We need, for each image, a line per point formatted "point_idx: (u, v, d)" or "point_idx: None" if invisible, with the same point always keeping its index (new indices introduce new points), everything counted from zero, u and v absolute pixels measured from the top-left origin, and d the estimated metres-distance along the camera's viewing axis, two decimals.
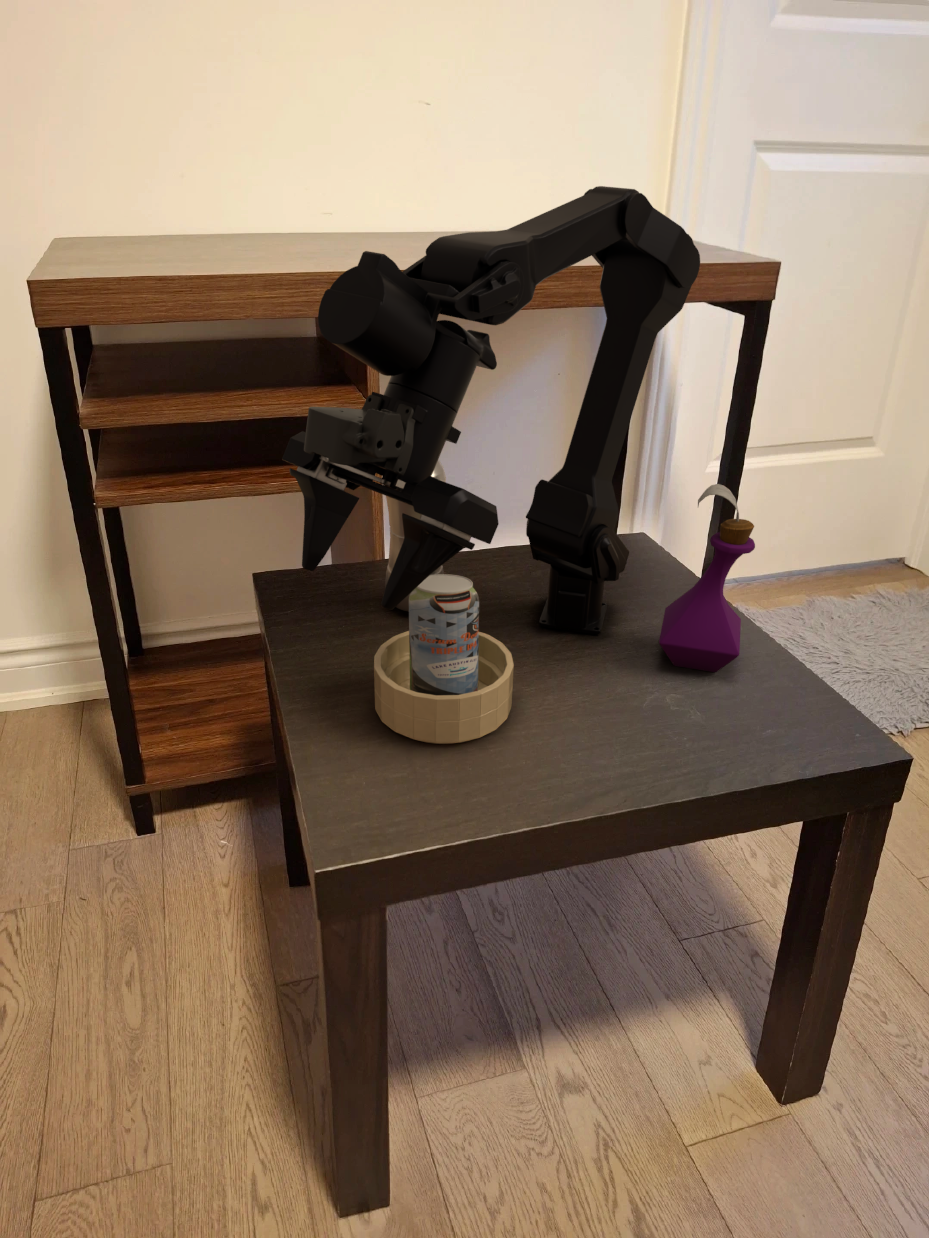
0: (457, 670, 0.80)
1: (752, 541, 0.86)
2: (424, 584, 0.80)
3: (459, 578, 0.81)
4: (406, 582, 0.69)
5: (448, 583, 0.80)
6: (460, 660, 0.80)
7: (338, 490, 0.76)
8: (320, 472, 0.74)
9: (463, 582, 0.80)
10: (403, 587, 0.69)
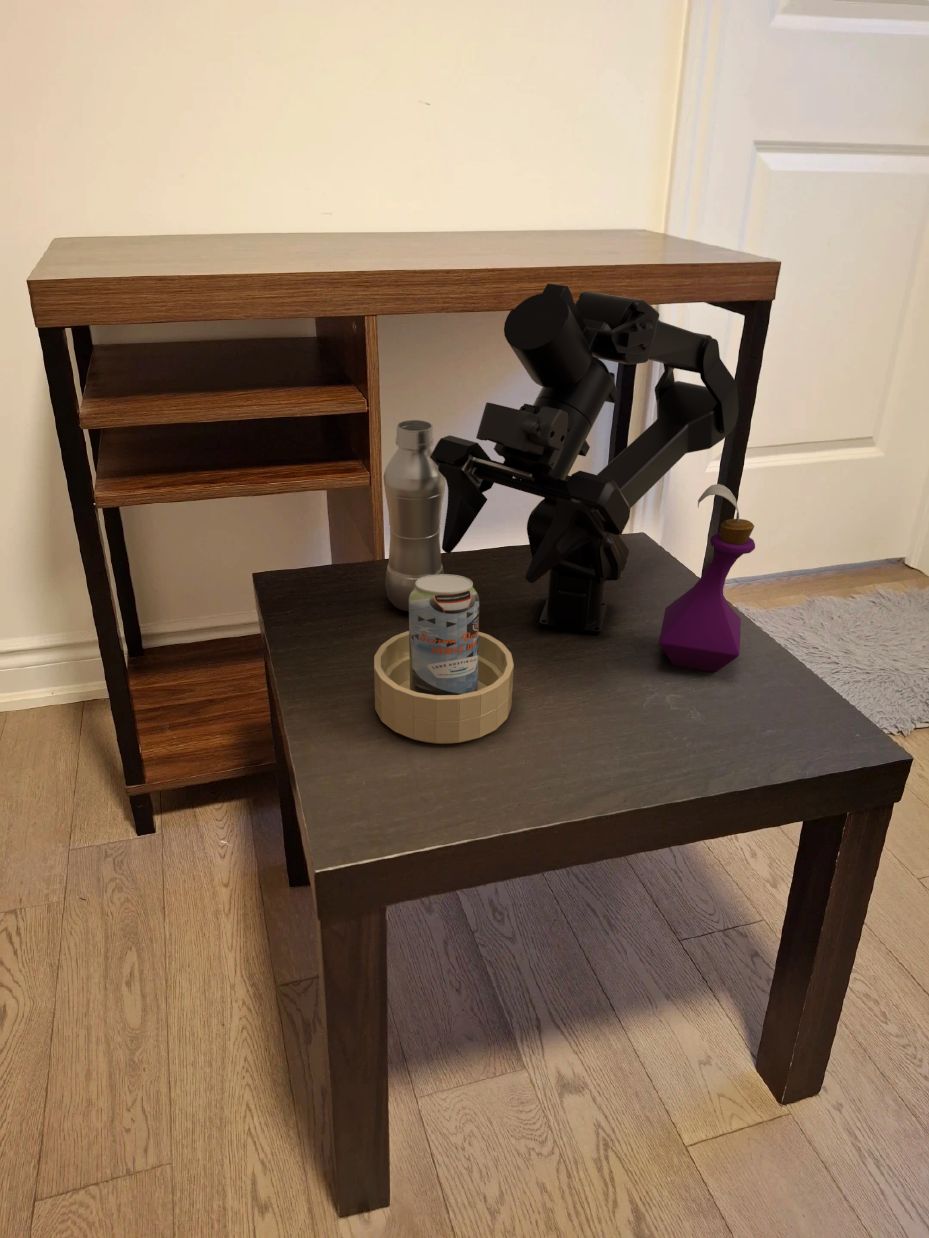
0: (457, 670, 0.80)
1: (752, 541, 0.86)
2: (424, 584, 0.80)
3: (459, 578, 0.81)
4: (549, 559, 0.81)
5: (448, 583, 0.80)
6: (460, 660, 0.80)
7: (476, 487, 0.87)
8: (466, 468, 0.86)
9: (463, 582, 0.80)
10: (546, 563, 0.81)
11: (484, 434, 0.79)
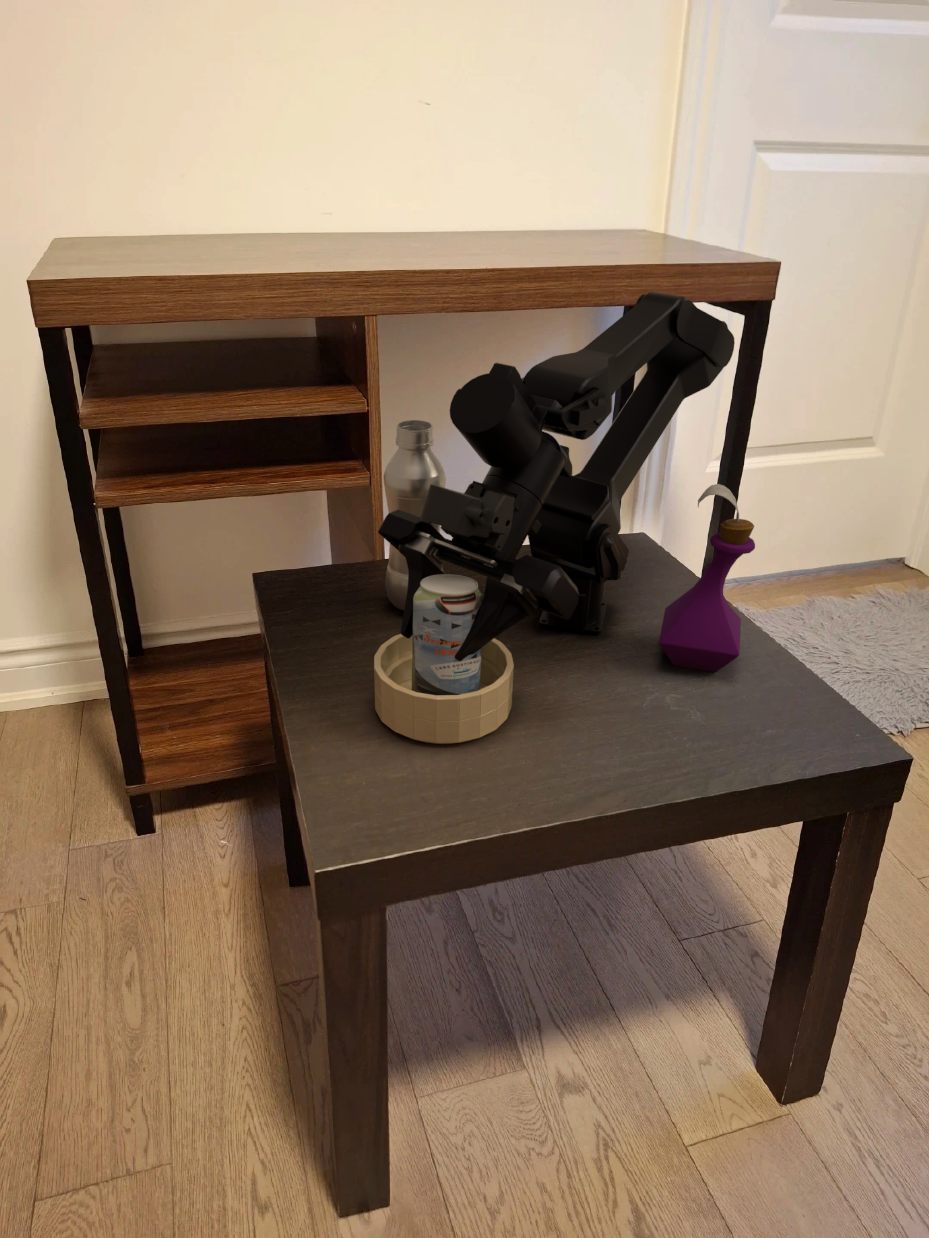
0: (460, 671, 0.80)
1: (752, 541, 0.86)
2: (429, 584, 0.79)
3: (464, 579, 0.81)
4: (479, 639, 0.79)
5: (453, 584, 0.80)
6: (464, 662, 0.79)
7: (438, 569, 0.84)
8: (428, 550, 0.83)
9: (468, 583, 0.80)
10: (476, 643, 0.79)
11: (427, 517, 0.76)
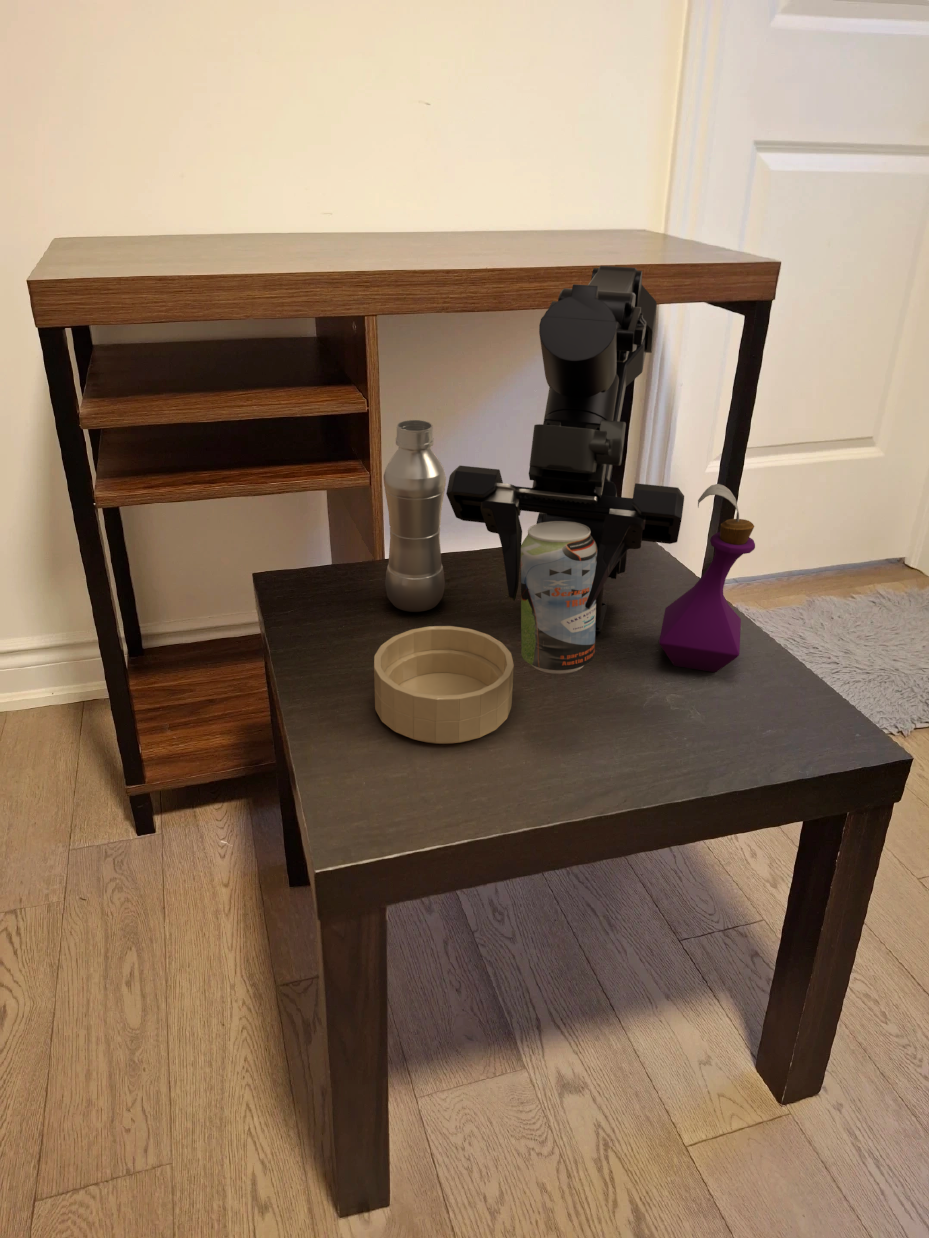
0: (589, 620, 0.74)
1: (752, 541, 0.86)
2: (541, 535, 0.73)
3: (564, 524, 0.75)
4: (602, 581, 0.74)
5: (563, 530, 0.74)
6: (591, 609, 0.74)
7: (519, 521, 0.77)
8: (513, 502, 0.75)
9: (575, 526, 0.74)
10: (600, 586, 0.74)
11: (544, 460, 0.70)
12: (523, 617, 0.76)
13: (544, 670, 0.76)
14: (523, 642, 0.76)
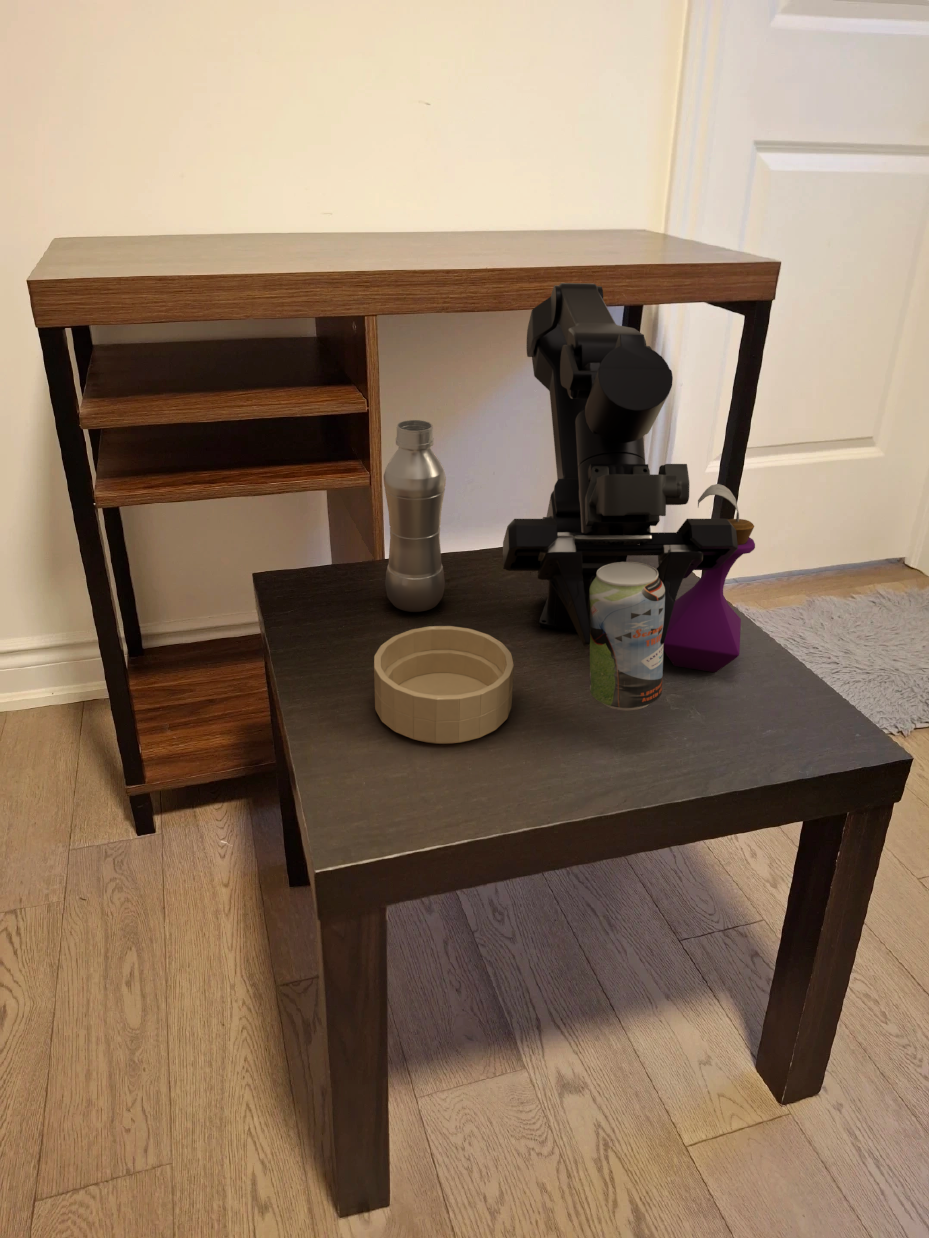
0: (662, 655, 0.77)
1: (752, 541, 0.86)
2: (615, 580, 0.74)
3: (624, 564, 0.77)
4: None
5: (630, 572, 0.76)
6: None
7: None
8: (574, 549, 0.76)
9: (637, 566, 0.77)
10: None
11: (622, 509, 0.71)
12: (598, 661, 0.77)
13: (621, 708, 0.78)
14: (598, 684, 0.78)
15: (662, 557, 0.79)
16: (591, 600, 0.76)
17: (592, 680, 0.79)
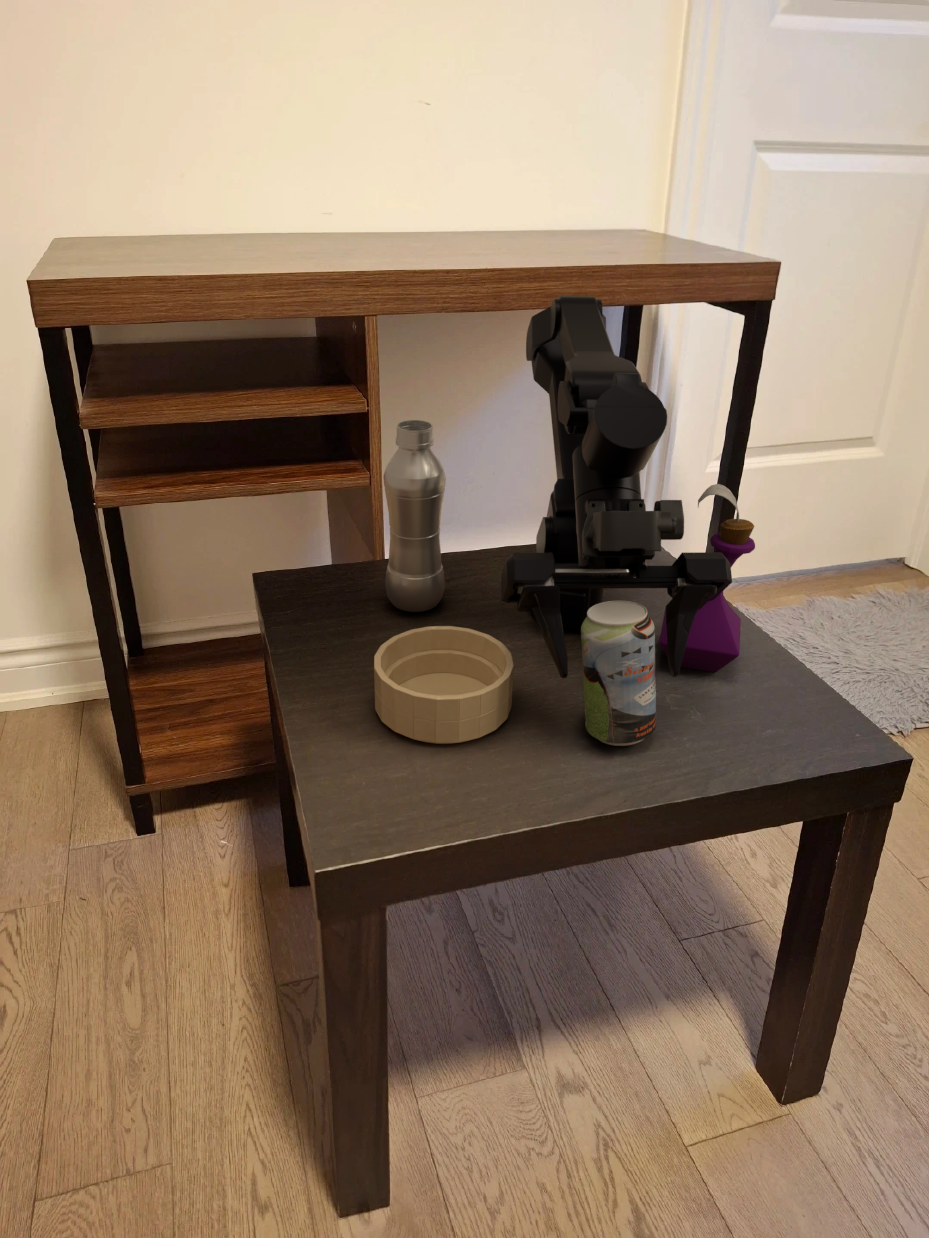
0: (654, 690, 0.79)
1: (752, 541, 0.86)
2: (605, 620, 0.76)
3: (614, 603, 0.79)
4: None
5: (620, 611, 0.77)
6: (654, 680, 0.79)
7: None
8: (552, 583, 0.78)
9: (627, 605, 0.78)
10: None
11: (618, 545, 0.72)
12: (592, 698, 0.79)
13: (616, 744, 0.80)
14: (592, 721, 0.79)
15: (676, 590, 0.80)
16: (583, 639, 0.78)
17: (587, 717, 0.80)
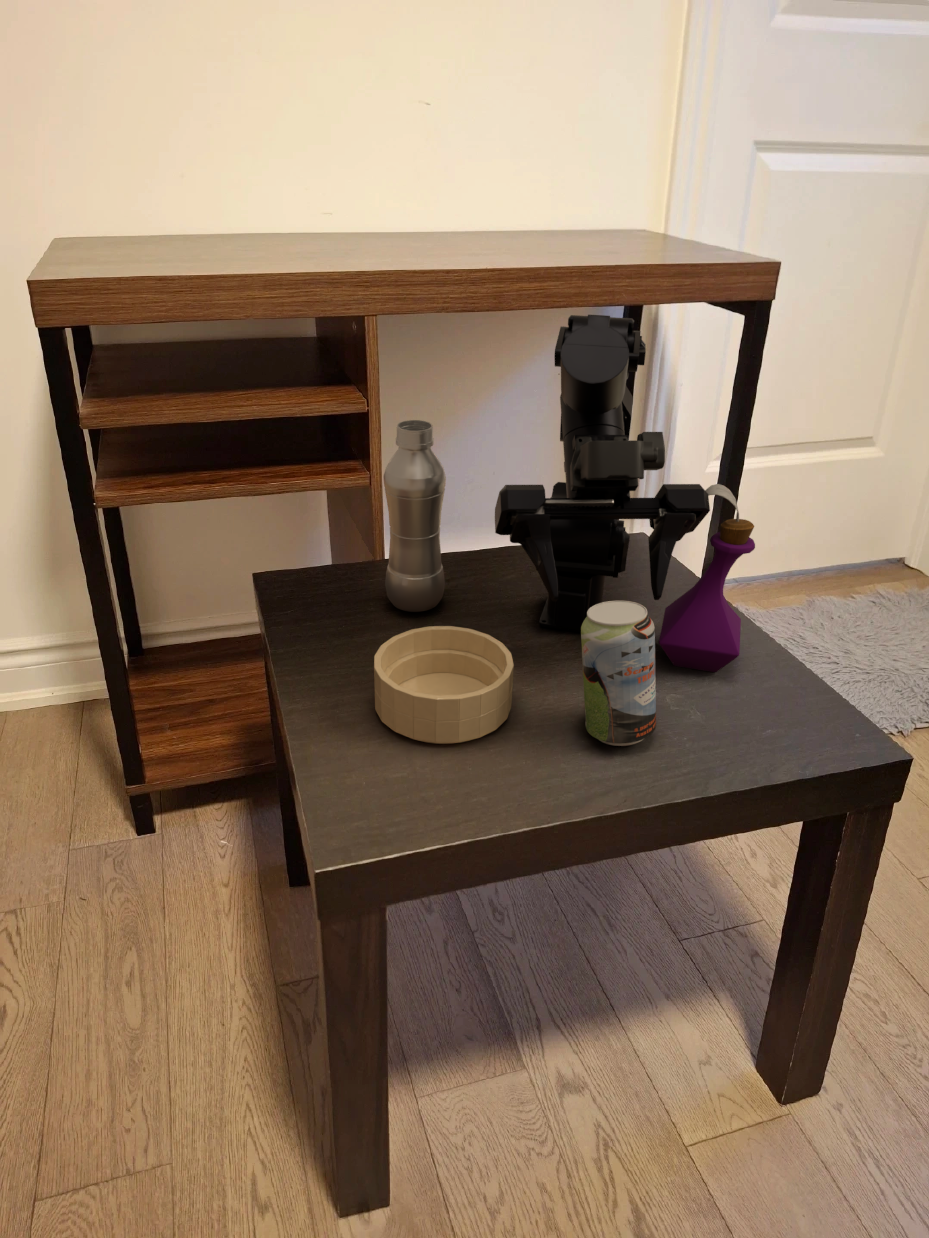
0: (654, 690, 0.79)
1: (752, 541, 0.86)
2: (605, 620, 0.76)
3: (614, 603, 0.79)
4: None
5: (620, 611, 0.77)
6: (654, 680, 0.79)
7: None
8: (543, 512, 0.83)
9: (627, 605, 0.78)
10: None
11: (604, 472, 0.78)
12: (592, 698, 0.79)
13: (616, 744, 0.80)
14: (592, 721, 0.79)
15: (658, 520, 0.86)
16: (583, 639, 0.78)
17: (587, 717, 0.80)
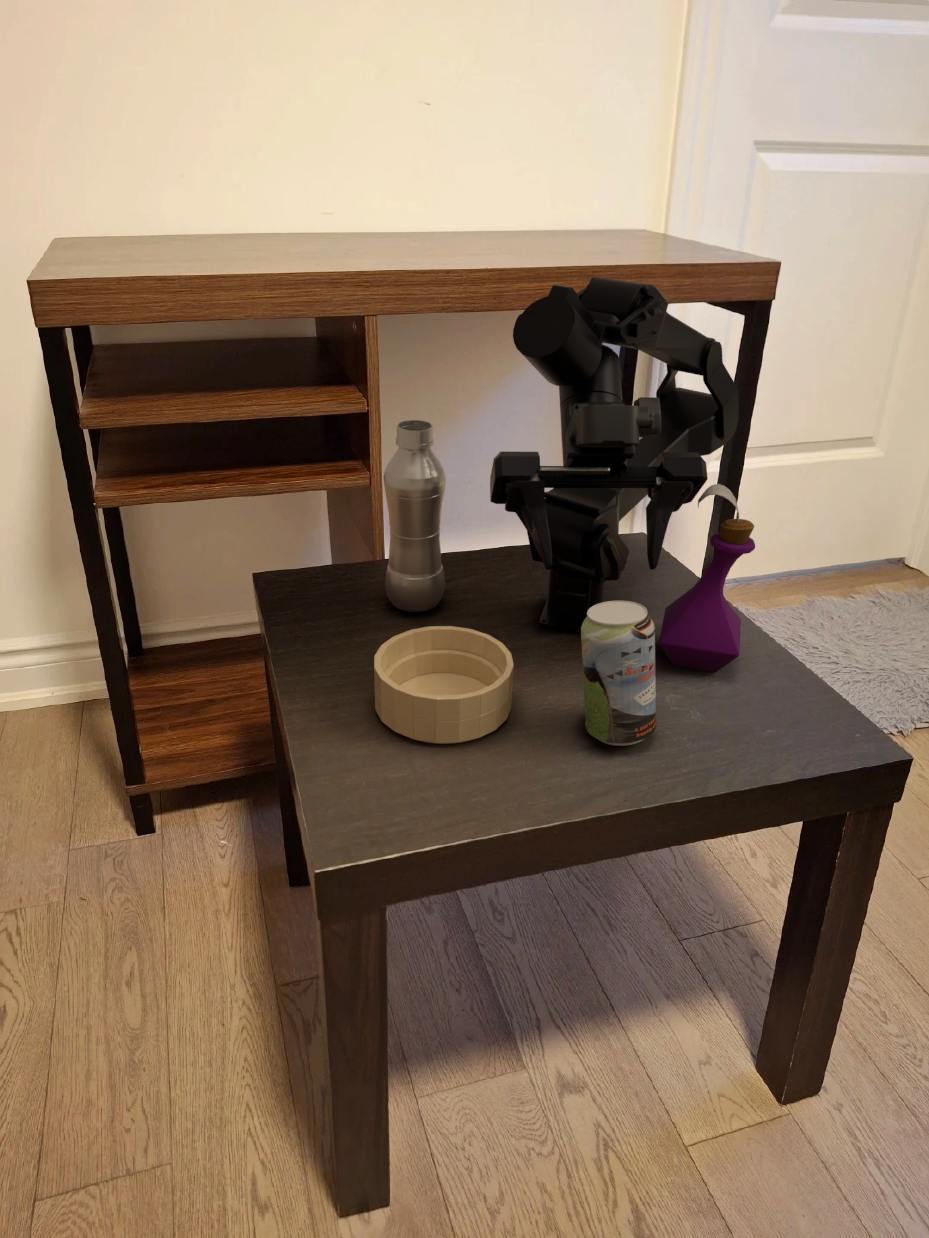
0: (654, 690, 0.79)
1: (752, 541, 0.86)
2: (605, 620, 0.76)
3: (614, 603, 0.79)
4: None
5: (620, 611, 0.77)
6: (654, 680, 0.79)
7: None
8: (538, 480, 0.82)
9: (627, 605, 0.78)
10: None
11: (598, 437, 0.77)
12: (592, 698, 0.79)
13: (616, 744, 0.80)
14: (592, 721, 0.79)
15: (655, 489, 0.85)
16: (583, 639, 0.78)
17: (587, 717, 0.80)
